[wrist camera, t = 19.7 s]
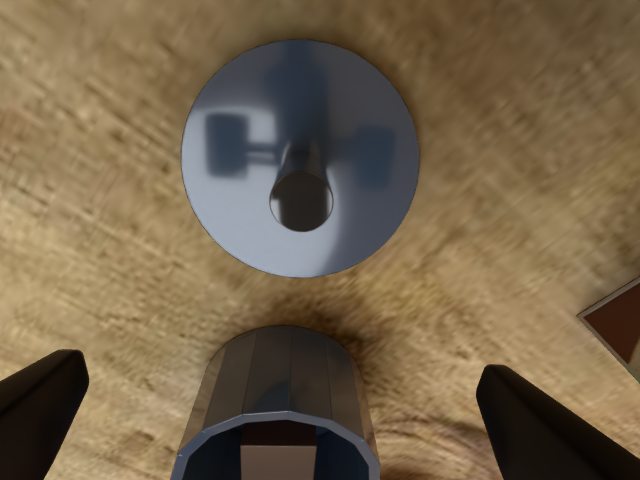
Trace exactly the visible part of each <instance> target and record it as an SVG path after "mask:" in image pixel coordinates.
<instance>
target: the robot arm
mask: <svg viewBox="0 0 640 480" xmlns="http://www.w3.org/2000/svg"><path fill="white" fill-rule="evenodd" d="M88 386H89V375H88V371H87V367H86V363H85V359H84V355H83V353H82V352H81V351H80V350H72V349H60V350H57V351H55V352H53V353H51V354H49V355H48V356H46V357H44V358H42V359H40V360H38V361H37V362H35V363H33V364H31V365H29V366H27V367H26V368H24V369H22V370H20V371H18V372H16V373H15V374H13V375H11V376H9V377H7V378H5V379H4V380H2V381H0V480H44V478H45V476H46V474H47V473H48V471H49V469H50V467H51V465H52V464H53V462H54V460H55V458H56V456H57V454H58V452H59V449H60V447H61V445H62V443H63V441H64V439H65V437H66V434H67V432H68V430H69V428H70V426H71V424H72V422H73V419H74V417H75V415H76V413H77V411H78V409H79V407H80V404H81V402H82V400H83V398H84V396H85V394H86V392H87V389H88ZM476 399H477V403H478V406H479V409H480V412H481V415H482V418H483V421H484V424H485V427H486V430H487V433H488V436H489V439H490V443H491V446H492V449H493V452H494V455H495V458H496V461H497V463H498V466H499V469H500V472H501V474H502V476H503V479H504V480H640V459H639V458H637V457H636V456H634V455H633V454H632V453H630V452H629V451H627V450H626V449H624V448H623V447H622V446H620V445H619V444H617V443H616V442H614V441H613V440H612V439H610V438H609V437H607V436H606V435H604V434H603V433H602V432H600V431H599V430H597V429H596V428H594V427H593V426H592V425H590V424H589V423H587V422H586V421H584V420H583V419H582V418H580V417H579V416H577V415H576V414H574V413H573V412H572V411H570V410H569V409H567V408H566V407H564V406H563V405H562V404H560V403H559V402H557V401H556V400H554V399H553V398H552V397H550V396H549V395H547V394H546V393H544V392H543V391H542V390H540V389H539V388H537V387H536V386H534V385H533V384H532V383H530V382H529V381H527V380H526V379H524V378H523V377H522V376H520V375H519V374H517V373H516V372H514V371H513V370H512V369H510V368H509V367H507V366H505V365H495V364H489V365H487V366H486V367H485V368H484V370H483V373H482V376H481V378H480V381H479V384H478V386H477V390H476Z"/></svg>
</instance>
